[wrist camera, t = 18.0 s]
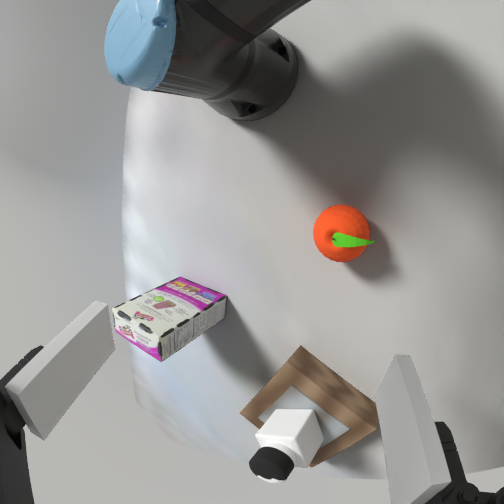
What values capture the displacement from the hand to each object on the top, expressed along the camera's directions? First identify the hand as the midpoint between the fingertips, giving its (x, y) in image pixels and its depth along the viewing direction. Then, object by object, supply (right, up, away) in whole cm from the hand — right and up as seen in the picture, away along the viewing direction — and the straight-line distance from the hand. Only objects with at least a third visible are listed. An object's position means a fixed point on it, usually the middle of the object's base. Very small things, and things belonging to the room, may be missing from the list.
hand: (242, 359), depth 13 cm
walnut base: (+11, -22, +36) cm, 44 cm away
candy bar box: (-8, -4, +43) cm, 44 cm away
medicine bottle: (+9, -24, +32) cm, 40 cm away
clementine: (+14, +8, +26) cm, 30 cm away
